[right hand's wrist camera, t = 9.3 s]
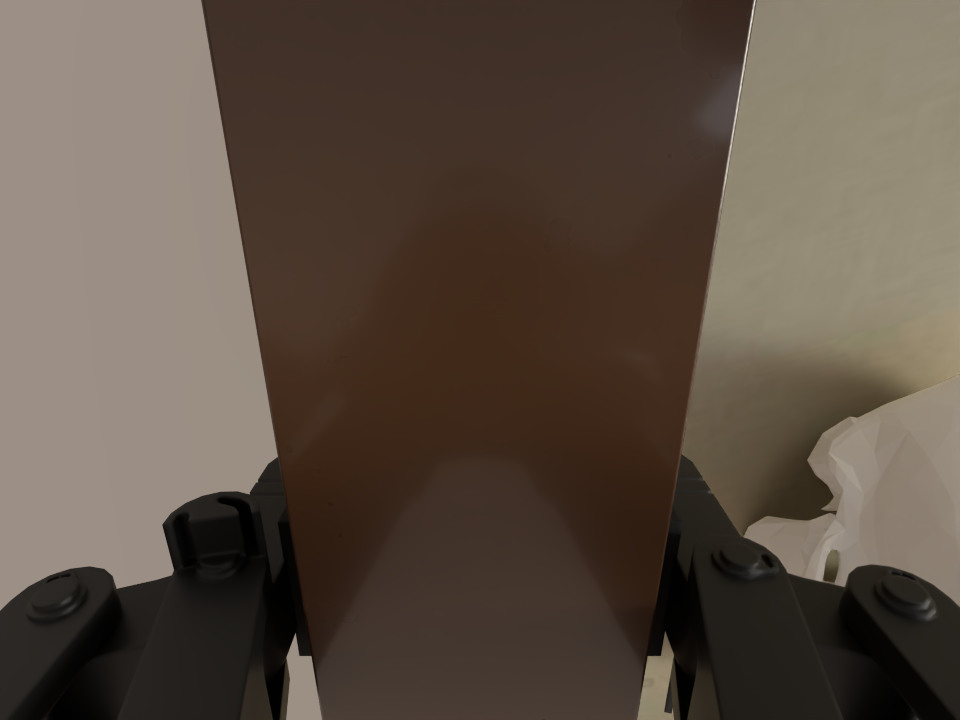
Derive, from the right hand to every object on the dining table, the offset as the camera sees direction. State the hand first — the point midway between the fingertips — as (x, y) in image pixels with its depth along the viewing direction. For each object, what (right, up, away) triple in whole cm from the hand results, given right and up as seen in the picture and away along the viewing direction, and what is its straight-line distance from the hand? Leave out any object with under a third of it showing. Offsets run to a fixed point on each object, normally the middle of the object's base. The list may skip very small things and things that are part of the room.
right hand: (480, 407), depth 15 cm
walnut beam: (0, +7, -4) cm, 8 cm away
